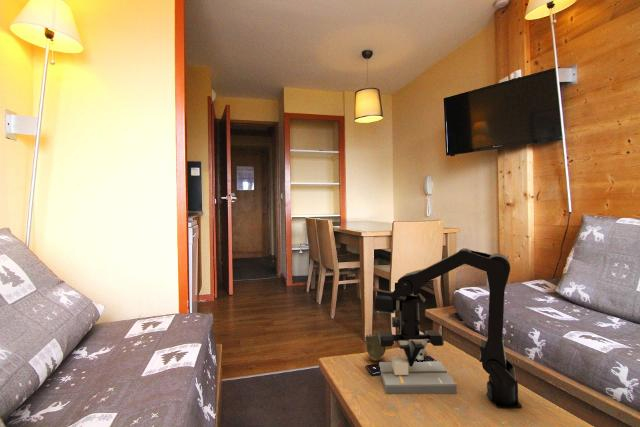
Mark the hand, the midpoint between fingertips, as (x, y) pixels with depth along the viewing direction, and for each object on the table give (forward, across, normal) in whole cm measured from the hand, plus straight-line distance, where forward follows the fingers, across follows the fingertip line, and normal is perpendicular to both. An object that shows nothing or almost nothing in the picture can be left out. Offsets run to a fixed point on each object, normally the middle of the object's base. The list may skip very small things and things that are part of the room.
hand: (410, 365), depth 101 cm
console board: (+5, -1, 0) cm, 5 cm away
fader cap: (+2, +3, 0) cm, 4 cm away
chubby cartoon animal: (+5, -6, -16) cm, 18 cm away
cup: (+5, +9, -14) cm, 17 cm away
